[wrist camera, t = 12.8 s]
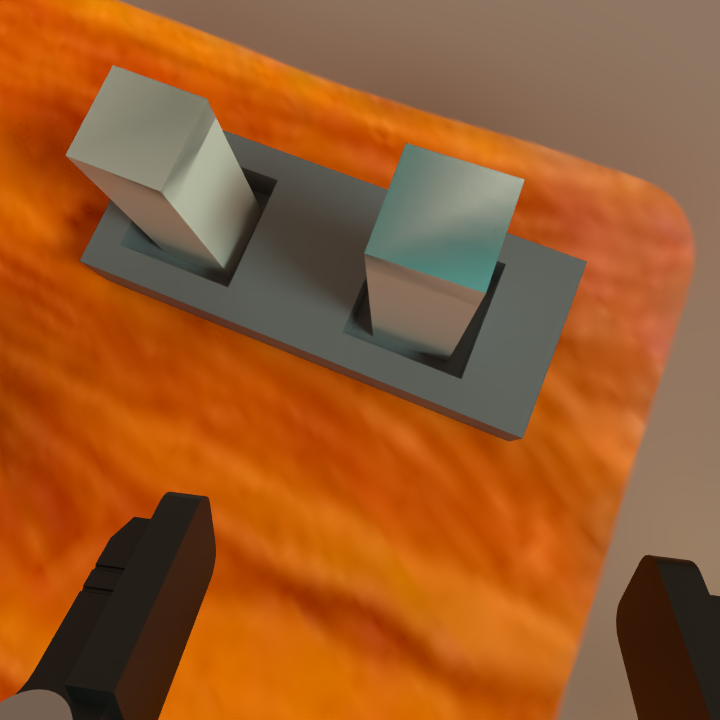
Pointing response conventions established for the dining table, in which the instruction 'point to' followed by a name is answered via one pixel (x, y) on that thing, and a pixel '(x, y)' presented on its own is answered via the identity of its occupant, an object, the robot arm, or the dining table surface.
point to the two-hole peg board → (298, 256)
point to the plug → (436, 249)
